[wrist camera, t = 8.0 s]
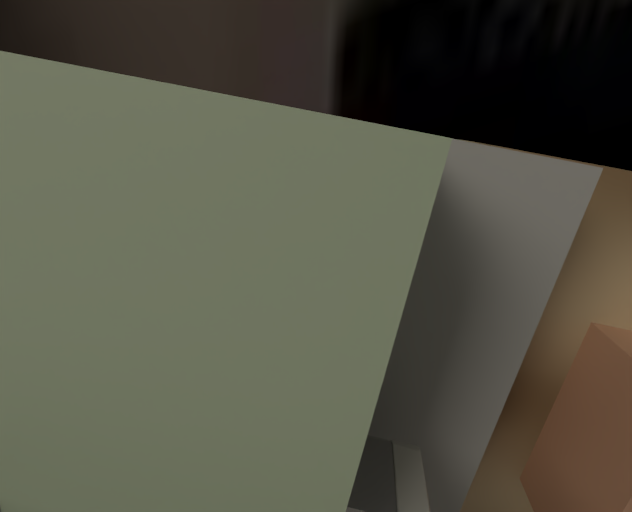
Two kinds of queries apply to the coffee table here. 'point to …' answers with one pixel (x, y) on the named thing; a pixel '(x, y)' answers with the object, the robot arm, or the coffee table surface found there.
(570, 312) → the board
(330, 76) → the coffee table surface
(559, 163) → the grey-green boxy piece
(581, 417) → the tile
